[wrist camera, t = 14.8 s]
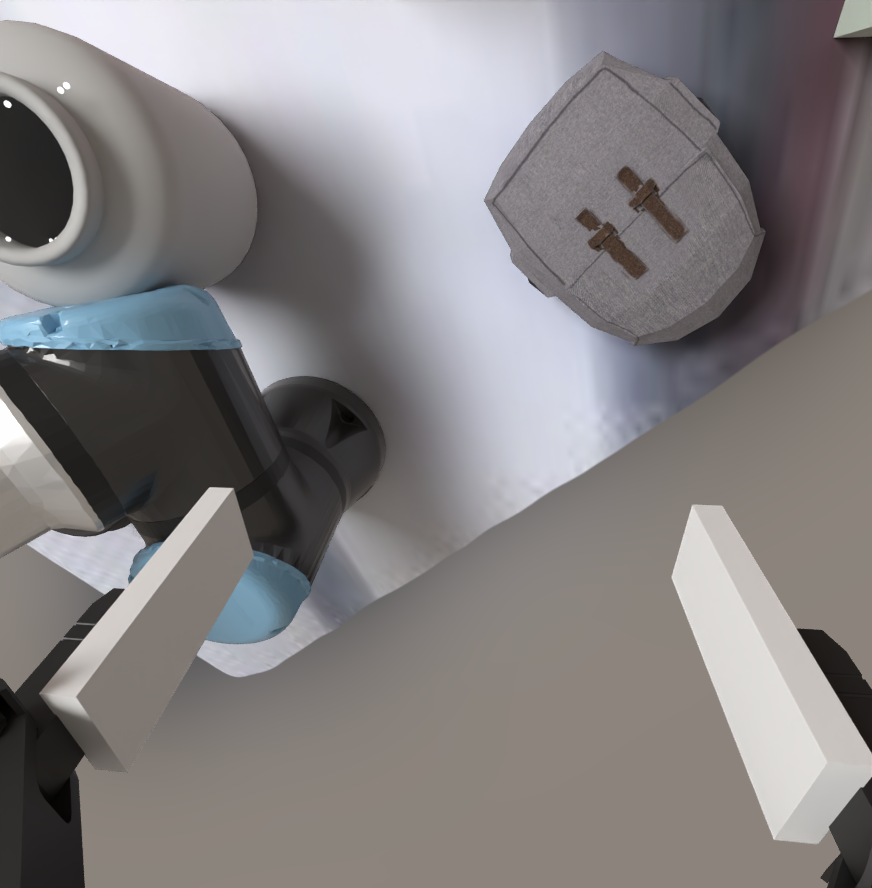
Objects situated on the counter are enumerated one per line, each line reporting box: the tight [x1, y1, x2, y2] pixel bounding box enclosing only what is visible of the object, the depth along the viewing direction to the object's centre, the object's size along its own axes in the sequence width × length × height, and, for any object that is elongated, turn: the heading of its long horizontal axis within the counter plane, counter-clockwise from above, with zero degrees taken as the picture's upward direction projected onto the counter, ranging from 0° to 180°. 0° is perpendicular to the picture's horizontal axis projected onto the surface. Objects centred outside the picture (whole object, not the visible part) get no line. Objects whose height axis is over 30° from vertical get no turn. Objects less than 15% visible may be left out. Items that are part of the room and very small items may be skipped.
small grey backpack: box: [484, 51, 766, 346], centre depth 36 cm, size 15×8×20 cm
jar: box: [0, 20, 258, 307], centre depth 31 cm, size 19×15×25 cm
